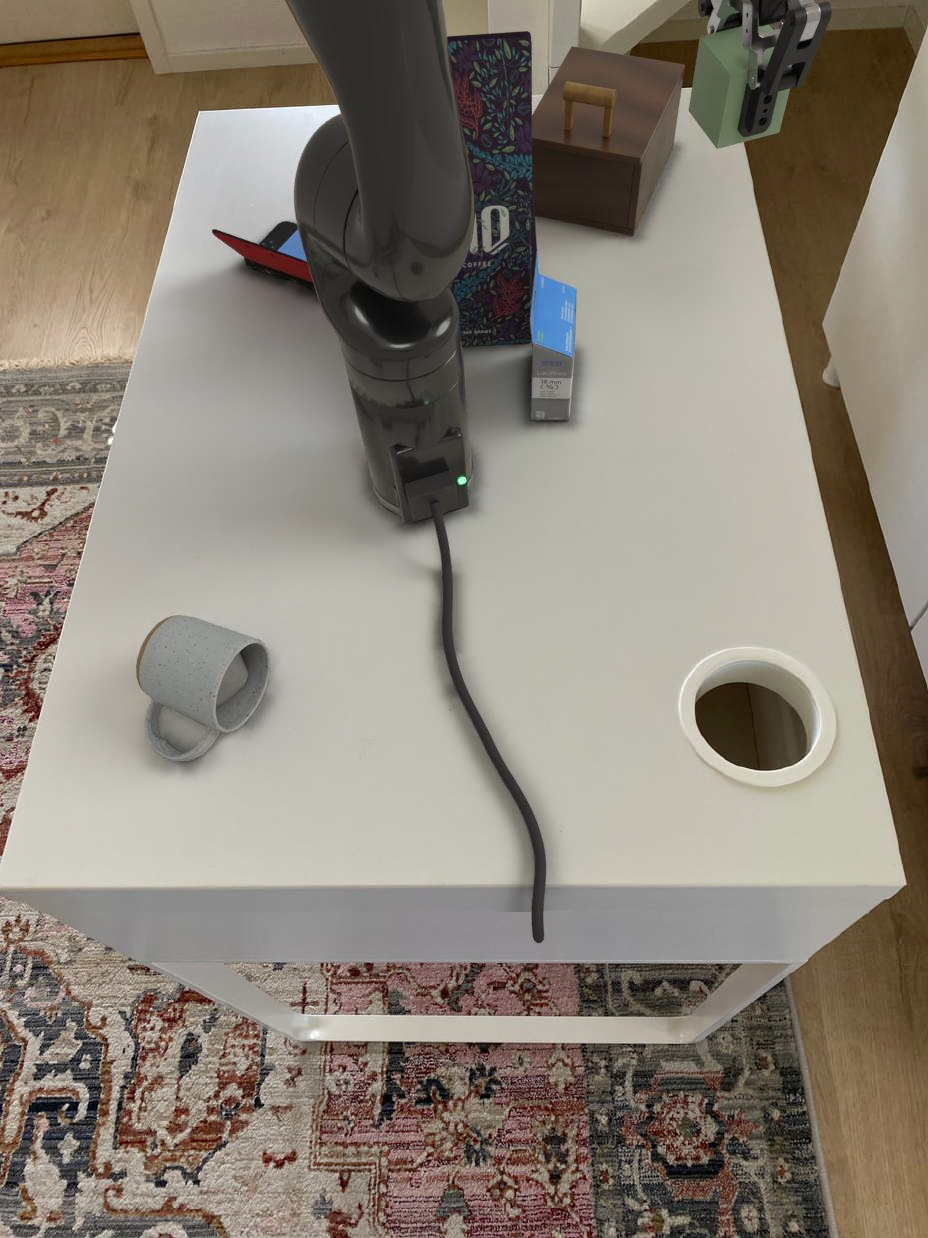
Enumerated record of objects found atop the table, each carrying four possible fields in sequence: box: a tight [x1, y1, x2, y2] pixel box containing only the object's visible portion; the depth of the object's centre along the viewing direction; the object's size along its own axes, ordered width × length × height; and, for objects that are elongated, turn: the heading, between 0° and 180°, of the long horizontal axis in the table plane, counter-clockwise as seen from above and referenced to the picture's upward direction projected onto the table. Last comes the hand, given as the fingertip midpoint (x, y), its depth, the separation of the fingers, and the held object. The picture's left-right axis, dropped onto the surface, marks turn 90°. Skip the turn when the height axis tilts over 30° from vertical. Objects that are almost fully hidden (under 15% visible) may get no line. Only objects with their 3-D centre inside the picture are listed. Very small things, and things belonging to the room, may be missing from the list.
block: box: [688, 25, 792, 150], centre depth 68 cm, size 5×5×6 cm
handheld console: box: [211, 220, 316, 292], centre depth 98 cm, size 12×11×7 cm
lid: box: [532, 45, 686, 165], centre depth 95 cm, size 16×13×5 cm
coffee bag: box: [447, 30, 538, 347], centre depth 84 cm, size 8×16×28 cm, turn 91°
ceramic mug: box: [135, 614, 272, 762], centre depth 73 cm, size 11×8×8 cm
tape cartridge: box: [529, 250, 577, 422], centre depth 86 cm, size 9×4×12 cm, turn 174°
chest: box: [532, 72, 685, 237], centre depth 102 cm, size 16×13×9 cm
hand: (735, 109), depth 69 cm, fingers closed on block, 5 cm apart
